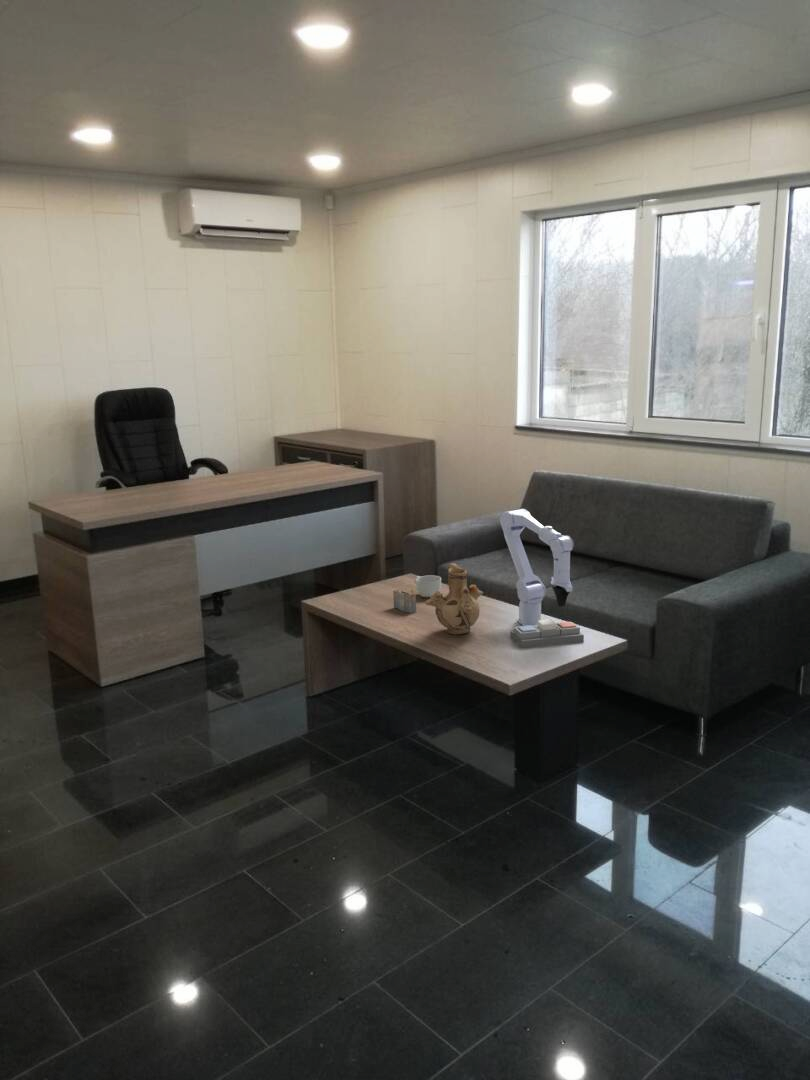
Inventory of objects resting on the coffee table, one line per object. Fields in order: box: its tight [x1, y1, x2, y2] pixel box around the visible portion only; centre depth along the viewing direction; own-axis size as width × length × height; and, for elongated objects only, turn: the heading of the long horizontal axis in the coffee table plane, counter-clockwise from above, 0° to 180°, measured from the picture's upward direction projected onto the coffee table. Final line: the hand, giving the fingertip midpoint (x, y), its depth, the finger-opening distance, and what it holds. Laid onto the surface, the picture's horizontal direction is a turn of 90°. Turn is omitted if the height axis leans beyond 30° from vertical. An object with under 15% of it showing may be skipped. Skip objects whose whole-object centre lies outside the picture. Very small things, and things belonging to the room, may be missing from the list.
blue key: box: [517, 625, 536, 632], centre depth 304 cm, size 5×5×2 cm
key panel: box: [510, 621, 585, 649], centre depth 306 cm, size 12×23×4 cm, turn 103°
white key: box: [538, 619, 557, 631], centre depth 306 cm, size 5×5×2 cm
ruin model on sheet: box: [393, 588, 417, 614], centre depth 346 cm, size 11×3×10 cm, turn 39°
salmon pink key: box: [556, 621, 577, 629], centre depth 308 cm, size 5×5×2 cm
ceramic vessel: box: [424, 562, 484, 635], centre depth 316 cm, size 18×19×25 cm
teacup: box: [414, 574, 442, 598], centre depth 366 cm, size 14×11×8 cm
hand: (561, 606), depth 311 cm, fingers closed
